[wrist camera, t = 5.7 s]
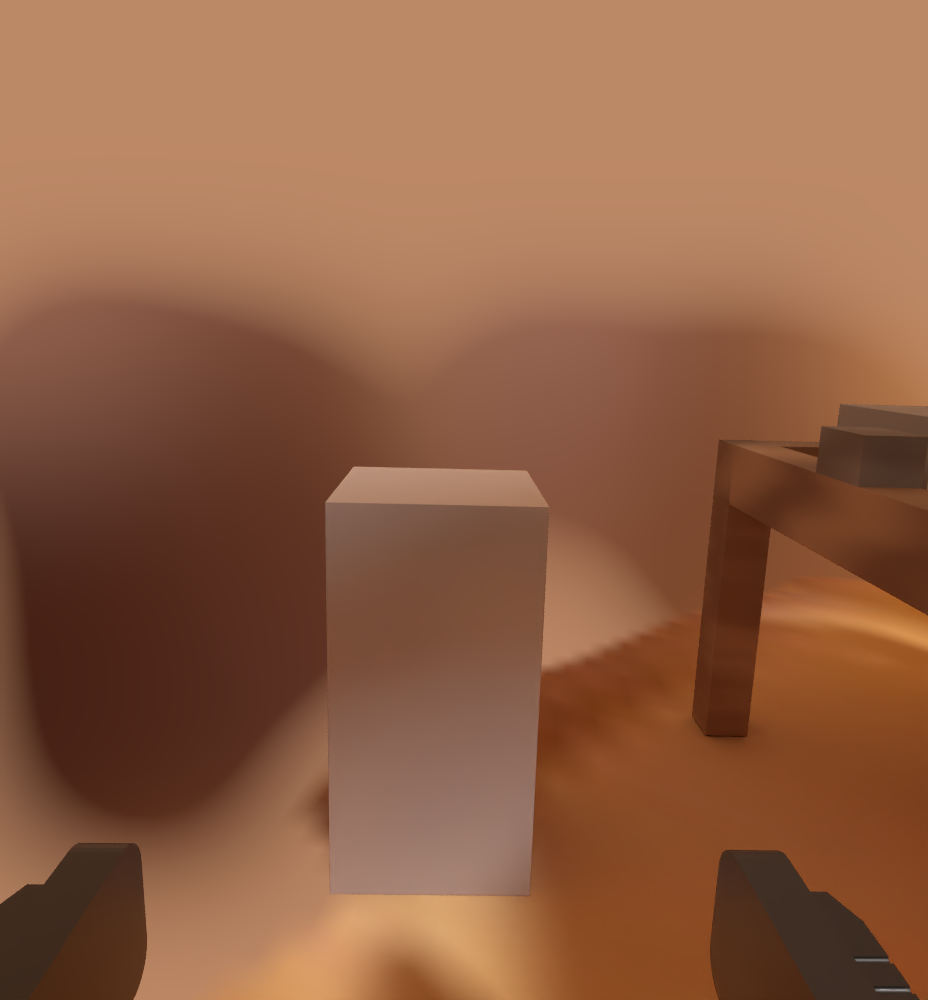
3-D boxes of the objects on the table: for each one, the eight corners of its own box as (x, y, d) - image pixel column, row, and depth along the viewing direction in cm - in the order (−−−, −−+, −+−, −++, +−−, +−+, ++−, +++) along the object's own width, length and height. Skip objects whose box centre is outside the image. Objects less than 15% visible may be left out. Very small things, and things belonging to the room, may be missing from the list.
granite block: (512, 781, 23) (526, 470, 21) (529, 896, 19) (549, 507, 17) (355, 779, 23) (353, 466, 21) (329, 893, 18) (325, 502, 16)
